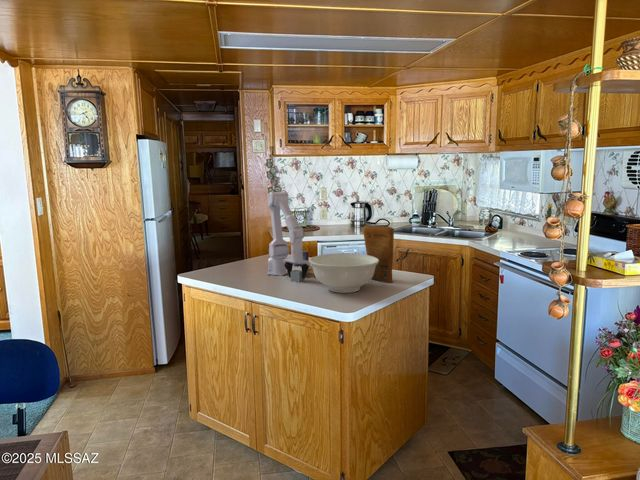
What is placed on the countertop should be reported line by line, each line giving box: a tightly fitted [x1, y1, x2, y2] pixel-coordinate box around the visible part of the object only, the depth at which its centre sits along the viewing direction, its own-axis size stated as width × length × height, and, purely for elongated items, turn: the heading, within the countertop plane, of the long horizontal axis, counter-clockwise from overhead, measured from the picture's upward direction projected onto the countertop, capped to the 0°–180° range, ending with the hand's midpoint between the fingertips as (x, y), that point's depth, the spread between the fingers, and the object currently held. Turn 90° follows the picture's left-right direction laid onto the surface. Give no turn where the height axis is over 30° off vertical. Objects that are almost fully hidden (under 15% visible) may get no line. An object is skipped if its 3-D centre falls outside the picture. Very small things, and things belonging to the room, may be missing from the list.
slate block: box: [290, 269, 305, 283], centre depth 241 cm, size 5×5×5 cm
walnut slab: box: [305, 273, 316, 278], centre depth 251 cm, size 6×6×2 cm
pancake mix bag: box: [362, 225, 395, 283], centre depth 238 cm, size 7×19×28 cm, turn 40°
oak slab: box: [307, 265, 314, 274], centre depth 251 cm, size 6×6×2 cm
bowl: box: [309, 252, 379, 294], centre depth 223 cm, size 32×32×15 cm
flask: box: [293, 249, 310, 267], centre depth 275 cm, size 9×3×11 cm, turn 76°
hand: (297, 277), depth 241 cm, fingers open, 7 cm apart
